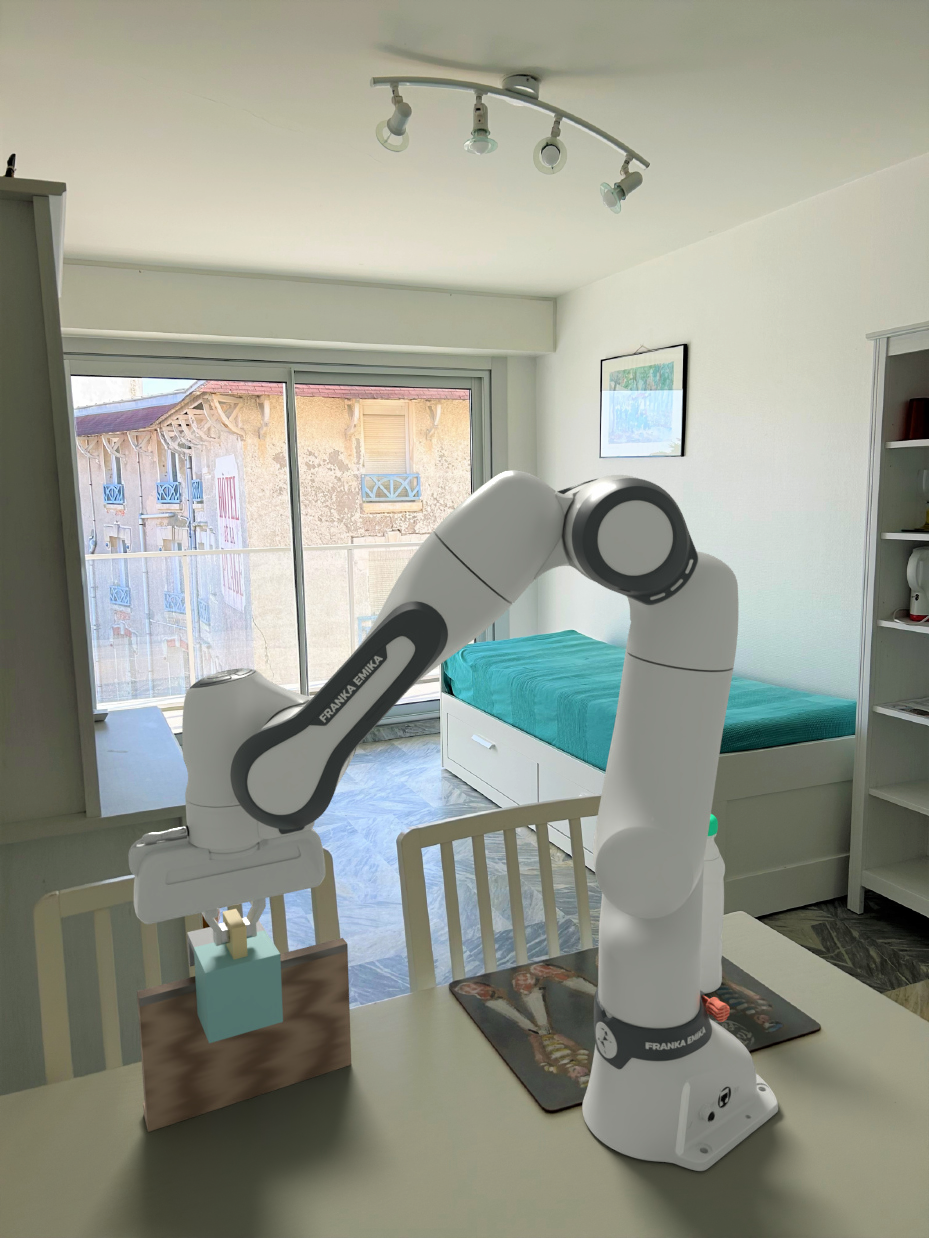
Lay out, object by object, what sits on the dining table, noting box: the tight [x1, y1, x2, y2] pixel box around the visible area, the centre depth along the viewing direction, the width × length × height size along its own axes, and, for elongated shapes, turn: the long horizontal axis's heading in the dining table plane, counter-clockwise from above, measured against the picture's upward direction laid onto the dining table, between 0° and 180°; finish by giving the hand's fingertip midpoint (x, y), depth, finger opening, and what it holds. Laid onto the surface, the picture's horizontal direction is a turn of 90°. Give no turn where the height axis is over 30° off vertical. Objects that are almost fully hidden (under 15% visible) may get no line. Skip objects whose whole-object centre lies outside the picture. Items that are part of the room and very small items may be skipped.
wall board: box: [136, 937, 352, 1133], centre depth 104 cm, size 24×3×16 cm, turn 118°
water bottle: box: [700, 813, 726, 995], centre depth 124 cm, size 7×7×25 cm
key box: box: [186, 908, 283, 1043], centre depth 98 cm, size 8×10×12 cm
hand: (235, 939), depth 97 cm, fingers closed on key box
